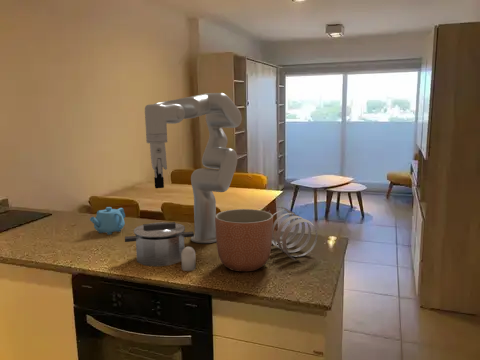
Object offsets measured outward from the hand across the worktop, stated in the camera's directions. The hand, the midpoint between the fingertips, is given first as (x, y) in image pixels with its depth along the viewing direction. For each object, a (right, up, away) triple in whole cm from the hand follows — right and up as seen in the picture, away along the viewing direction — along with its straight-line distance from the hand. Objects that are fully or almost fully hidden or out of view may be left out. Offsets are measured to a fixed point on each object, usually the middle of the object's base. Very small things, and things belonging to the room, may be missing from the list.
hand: (159, 187), depth 158 cm
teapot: (-32, -22, +42) cm, 57 cm away
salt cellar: (+11, -29, -5) cm, 32 cm away
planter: (+32, -29, -3) cm, 43 cm away
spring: (+50, -26, +15) cm, 58 cm away
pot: (-1, -27, +6) cm, 28 cm away
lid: (-1, -17, +5) cm, 17 cm away
